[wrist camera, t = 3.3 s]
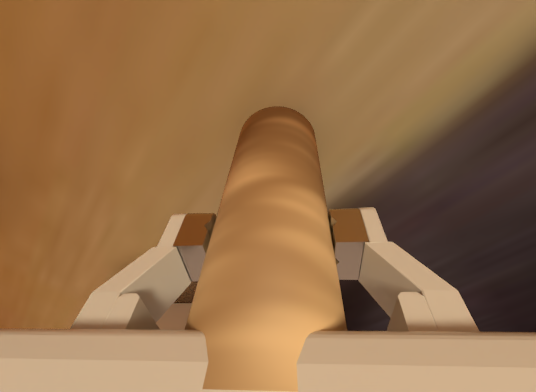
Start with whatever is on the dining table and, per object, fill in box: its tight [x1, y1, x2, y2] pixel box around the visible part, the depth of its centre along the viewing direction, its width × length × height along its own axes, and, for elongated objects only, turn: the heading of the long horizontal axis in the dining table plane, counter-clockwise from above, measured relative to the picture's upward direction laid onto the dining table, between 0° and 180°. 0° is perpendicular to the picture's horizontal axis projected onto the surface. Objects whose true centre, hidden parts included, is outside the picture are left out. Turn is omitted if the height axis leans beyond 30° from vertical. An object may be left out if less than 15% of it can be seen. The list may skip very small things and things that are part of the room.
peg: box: [185, 107, 347, 392], centre depth 11 cm, size 4×4×12 cm
